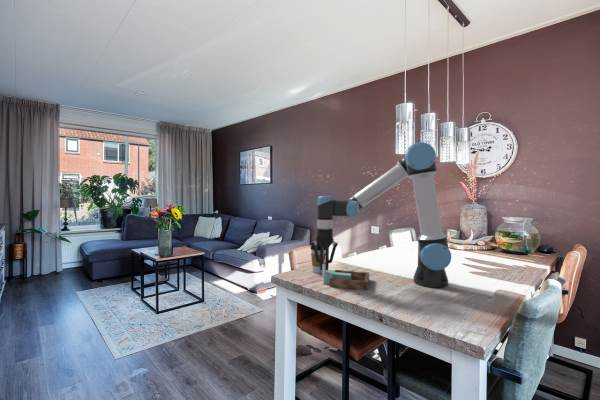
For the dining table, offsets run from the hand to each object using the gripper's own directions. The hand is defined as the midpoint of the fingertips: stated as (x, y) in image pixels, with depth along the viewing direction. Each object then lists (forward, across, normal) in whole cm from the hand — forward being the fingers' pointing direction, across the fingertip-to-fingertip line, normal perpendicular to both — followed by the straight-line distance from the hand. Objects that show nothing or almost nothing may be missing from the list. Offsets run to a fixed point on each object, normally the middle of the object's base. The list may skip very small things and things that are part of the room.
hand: (324, 276), depth 146 cm
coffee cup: (+2, +6, -14) cm, 15 cm away
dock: (+2, -12, 0) cm, 12 cm away
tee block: (+2, -7, 0) cm, 7 cm away
